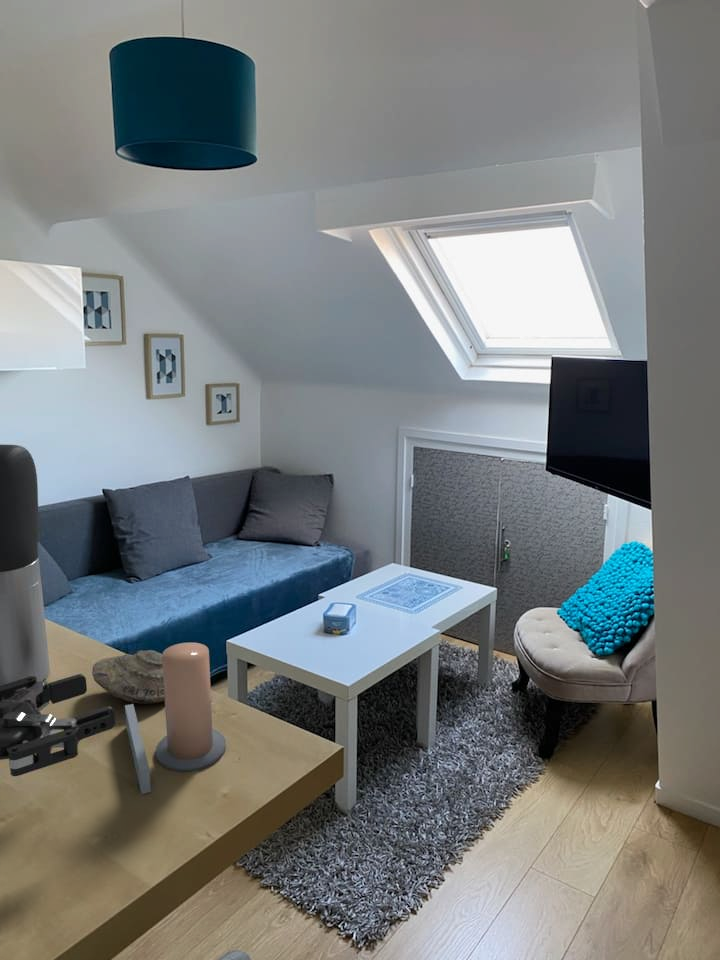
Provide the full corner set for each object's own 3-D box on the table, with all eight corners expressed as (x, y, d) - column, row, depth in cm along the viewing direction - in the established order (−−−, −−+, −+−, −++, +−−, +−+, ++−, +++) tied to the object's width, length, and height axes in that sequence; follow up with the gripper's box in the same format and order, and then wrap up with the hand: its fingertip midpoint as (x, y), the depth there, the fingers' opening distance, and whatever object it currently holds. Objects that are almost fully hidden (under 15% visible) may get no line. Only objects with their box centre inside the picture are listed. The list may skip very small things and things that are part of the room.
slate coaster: (151, 739, 89) (151, 735, 89) (217, 725, 92) (217, 721, 92) (162, 777, 82) (161, 773, 82) (233, 760, 85) (232, 756, 85)
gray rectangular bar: (126, 727, 92) (124, 705, 91) (134, 725, 92) (133, 703, 91) (141, 794, 79) (139, 769, 78) (150, 792, 79) (149, 767, 79)
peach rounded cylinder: (164, 739, 88) (158, 647, 85) (207, 730, 90) (203, 639, 87) (172, 763, 83) (166, 667, 81) (217, 753, 85) (213, 658, 83)
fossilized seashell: (144, 711, 92) (132, 656, 93) (81, 722, 96) (70, 669, 97) (194, 687, 102) (183, 638, 102) (135, 698, 106) (124, 650, 106)
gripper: (-66, 754, 62) (122, 693, 72) (-93, 687, 73) (74, 642, 83) (-55, 831, 64) (127, 761, 74) (-83, 754, 75) (79, 702, 85)
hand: (98, 698), depth 78 cm, fingers open, 8 cm apart
